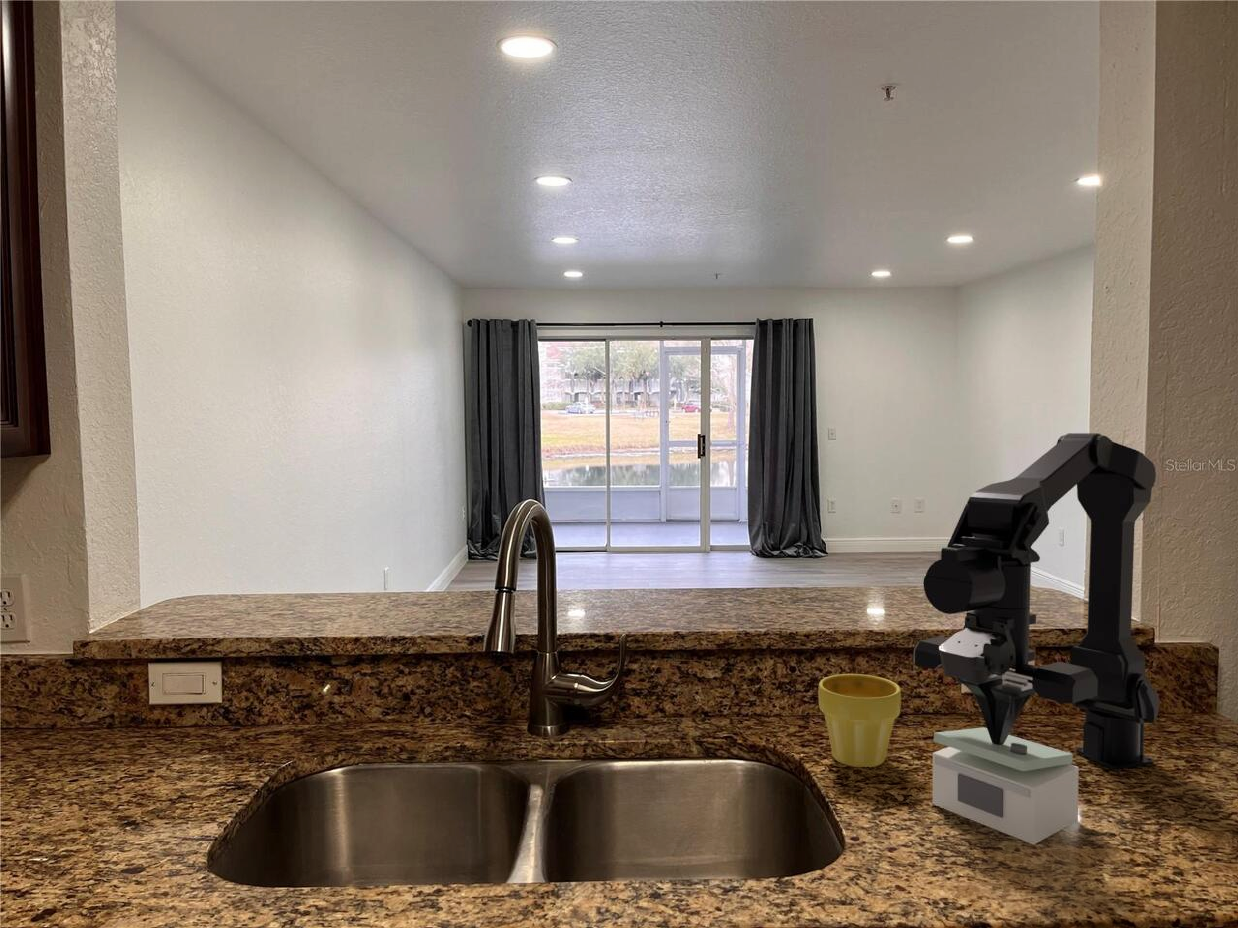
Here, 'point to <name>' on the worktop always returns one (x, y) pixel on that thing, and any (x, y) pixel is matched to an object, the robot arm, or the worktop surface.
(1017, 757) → the lid
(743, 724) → the worktop surface
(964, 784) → the box
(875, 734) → the plant pot
